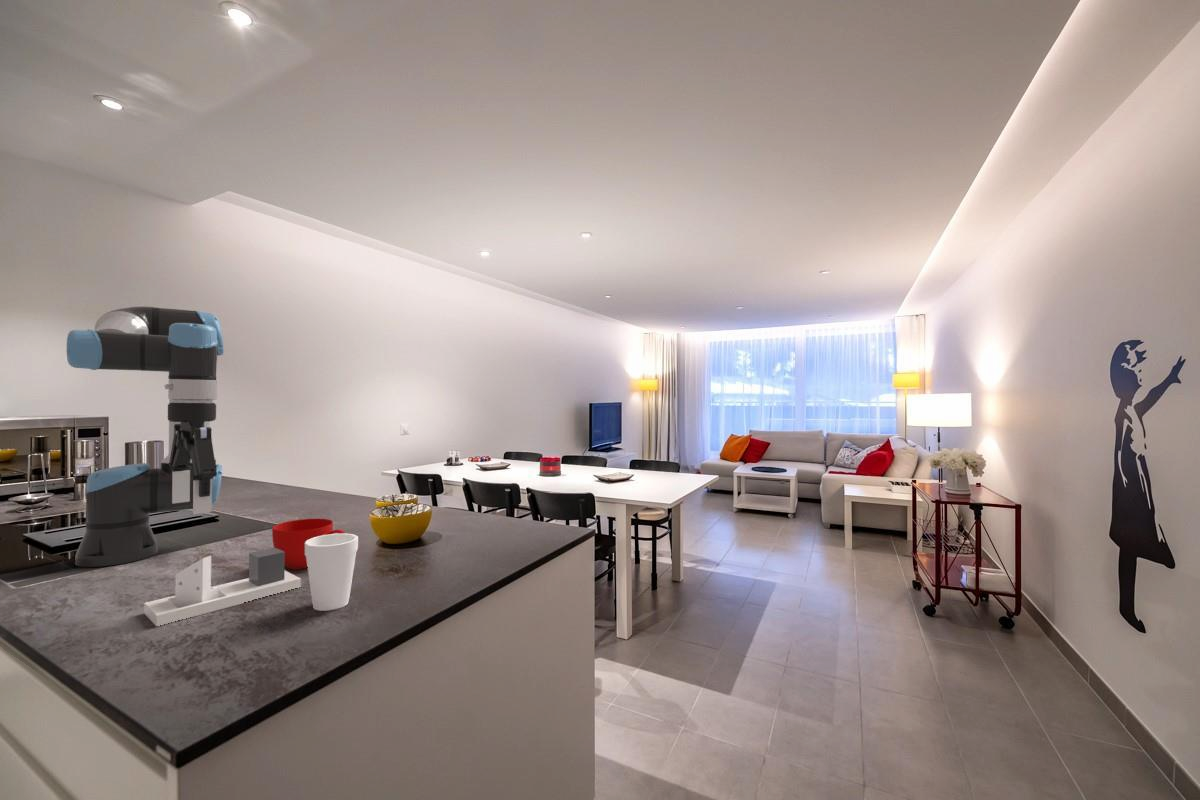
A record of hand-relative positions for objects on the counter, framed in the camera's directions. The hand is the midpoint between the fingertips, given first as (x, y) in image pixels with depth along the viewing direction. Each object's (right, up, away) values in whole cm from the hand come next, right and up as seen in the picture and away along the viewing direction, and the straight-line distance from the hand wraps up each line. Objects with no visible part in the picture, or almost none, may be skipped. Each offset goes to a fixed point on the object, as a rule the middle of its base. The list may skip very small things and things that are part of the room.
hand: (191, 507), depth 100 cm
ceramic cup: (+10, -20, +24) cm, 32 cm away
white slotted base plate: (+6, -19, +2) cm, 20 cm away
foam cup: (+28, -20, 0) cm, 34 cm away
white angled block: (+3, -19, -2) cm, 19 cm away
